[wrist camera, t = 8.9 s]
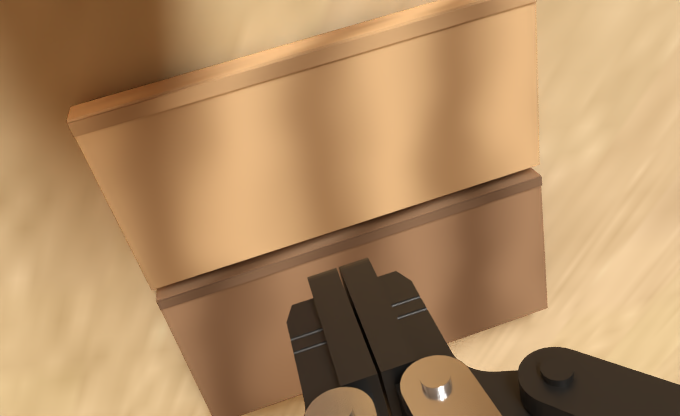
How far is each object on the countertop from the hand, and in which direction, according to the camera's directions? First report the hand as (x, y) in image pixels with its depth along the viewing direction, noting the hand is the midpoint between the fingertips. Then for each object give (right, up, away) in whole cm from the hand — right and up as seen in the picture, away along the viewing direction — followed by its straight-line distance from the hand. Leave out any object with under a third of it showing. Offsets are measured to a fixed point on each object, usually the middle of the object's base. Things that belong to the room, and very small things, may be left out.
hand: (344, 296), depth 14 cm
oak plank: (-1, +6, +14) cm, 15 cm away
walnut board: (+1, -2, +19) cm, 20 cm away
